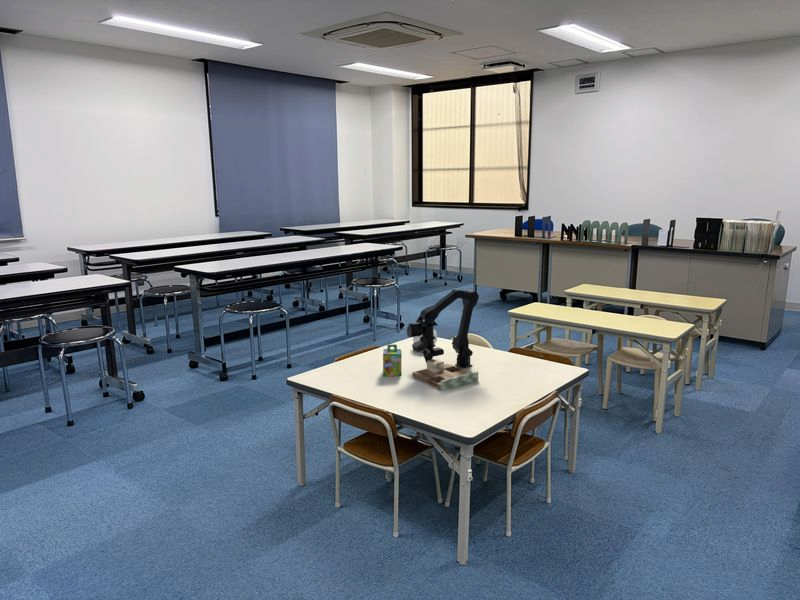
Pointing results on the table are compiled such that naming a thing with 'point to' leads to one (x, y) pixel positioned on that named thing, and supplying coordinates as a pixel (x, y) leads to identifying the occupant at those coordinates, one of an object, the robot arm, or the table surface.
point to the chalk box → (392, 361)
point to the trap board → (446, 377)
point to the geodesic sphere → (421, 335)
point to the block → (435, 365)
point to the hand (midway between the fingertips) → (428, 364)
